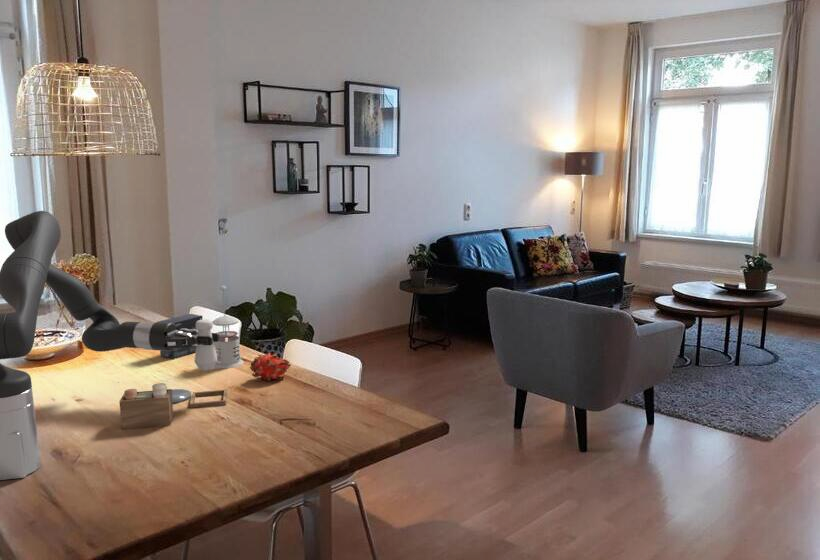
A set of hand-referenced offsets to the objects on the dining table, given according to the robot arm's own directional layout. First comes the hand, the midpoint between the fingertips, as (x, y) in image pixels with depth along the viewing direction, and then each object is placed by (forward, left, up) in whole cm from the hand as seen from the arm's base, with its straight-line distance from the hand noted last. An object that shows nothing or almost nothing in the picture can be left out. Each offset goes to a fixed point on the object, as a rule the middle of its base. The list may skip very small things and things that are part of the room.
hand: (215, 339), depth 171 cm
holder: (+1, +3, -17) cm, 17 cm away
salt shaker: (+1, +3, -8) cm, 9 cm away
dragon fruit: (+15, -14, -17) cm, 27 cm away
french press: (+34, -1, -17) cm, 38 cm away
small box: (+49, +14, -17) cm, 54 cm away
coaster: (+6, +13, -17) cm, 22 cm away
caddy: (-11, +16, -17) cm, 26 cm away
